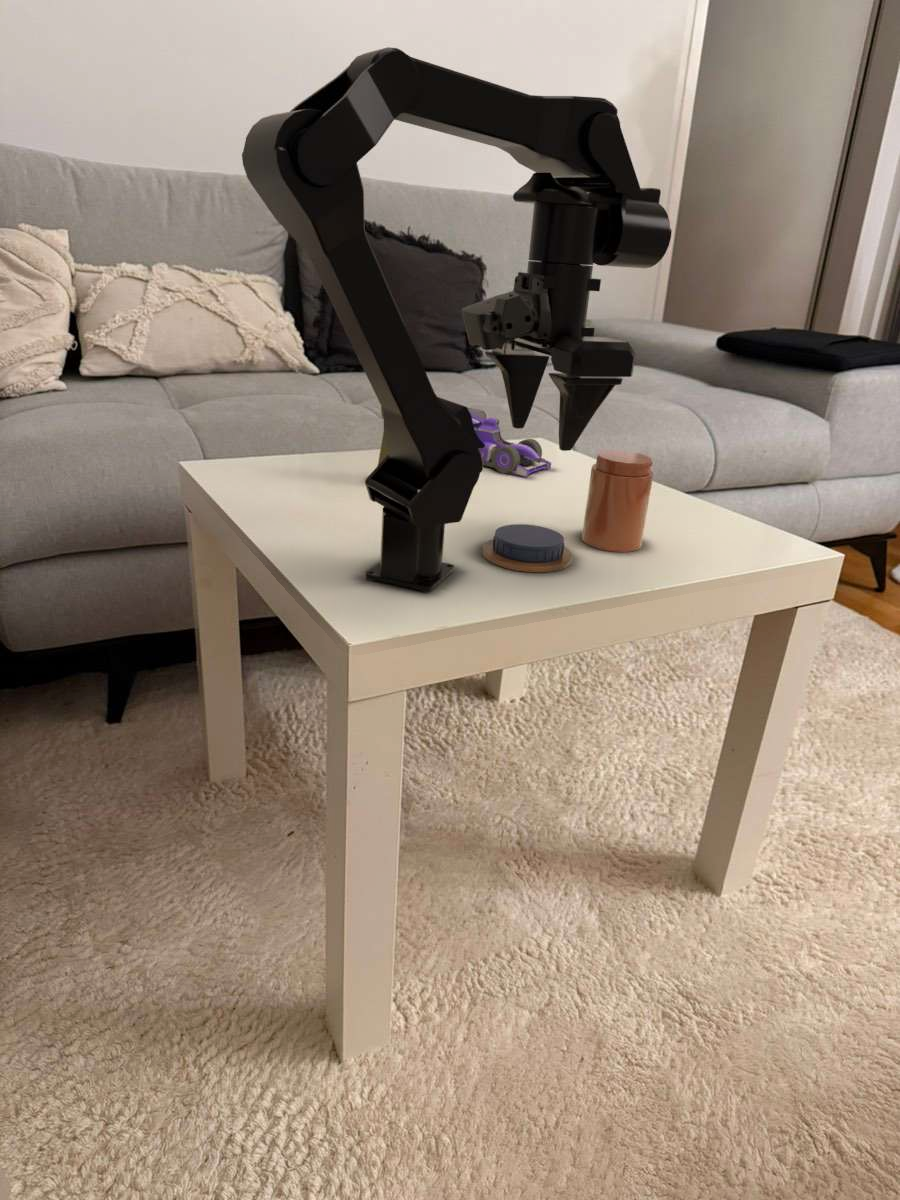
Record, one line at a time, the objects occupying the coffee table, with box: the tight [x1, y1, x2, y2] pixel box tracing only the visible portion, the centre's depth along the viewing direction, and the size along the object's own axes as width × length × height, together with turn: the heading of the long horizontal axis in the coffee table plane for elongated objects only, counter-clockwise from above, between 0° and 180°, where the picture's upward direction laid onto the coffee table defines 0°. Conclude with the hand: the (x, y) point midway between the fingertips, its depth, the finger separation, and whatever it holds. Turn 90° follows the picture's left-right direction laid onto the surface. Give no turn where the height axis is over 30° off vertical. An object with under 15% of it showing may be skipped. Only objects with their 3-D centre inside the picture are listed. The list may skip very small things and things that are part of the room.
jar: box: [581, 449, 654, 553], centre depth 90 cm, size 6×6×9 cm
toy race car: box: [467, 407, 552, 478], centre depth 119 cm, size 10×15×6 cm, turn 55°
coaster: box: [482, 538, 573, 574], centre depth 86 cm, size 9×9×1 cm
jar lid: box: [492, 523, 566, 563], centre depth 85 cm, size 7×7×2 cm
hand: (540, 438), depth 81 cm, fingers open, 9 cm apart
